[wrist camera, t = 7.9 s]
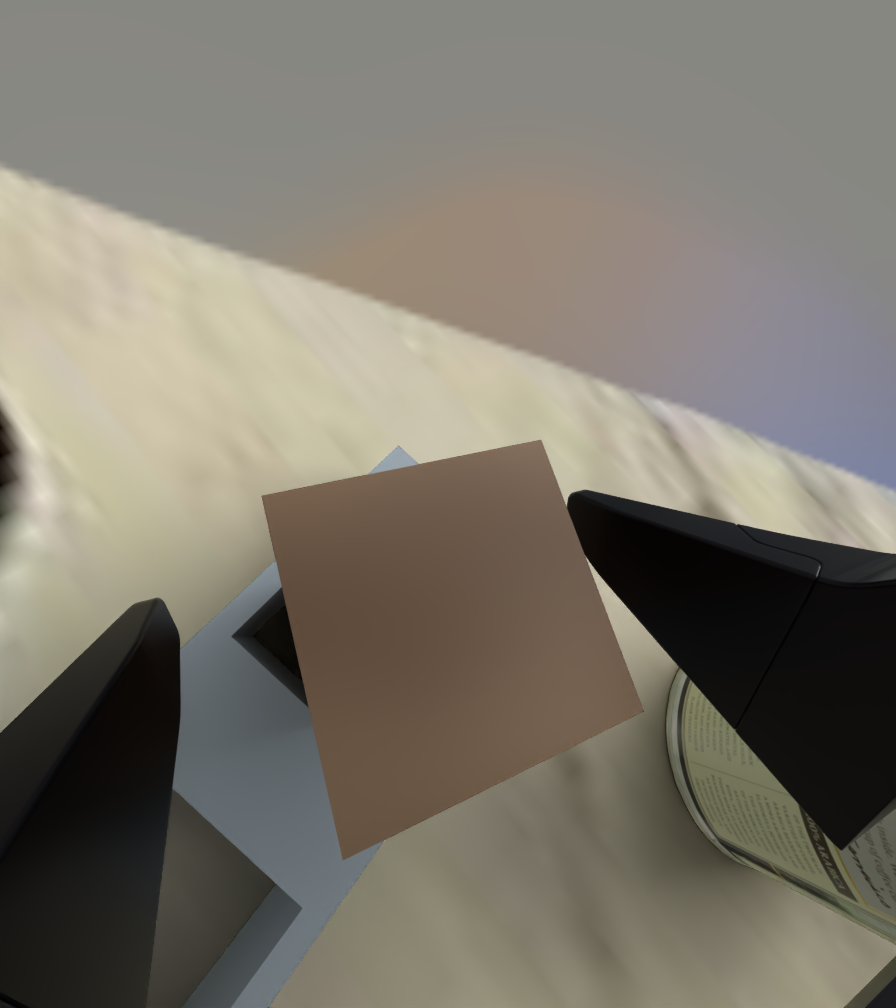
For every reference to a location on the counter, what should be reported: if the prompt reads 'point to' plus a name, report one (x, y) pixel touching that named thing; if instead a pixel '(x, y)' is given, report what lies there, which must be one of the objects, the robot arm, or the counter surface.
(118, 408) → the counter surface
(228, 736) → the blue peg holder
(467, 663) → the peg
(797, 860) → the coffee can
